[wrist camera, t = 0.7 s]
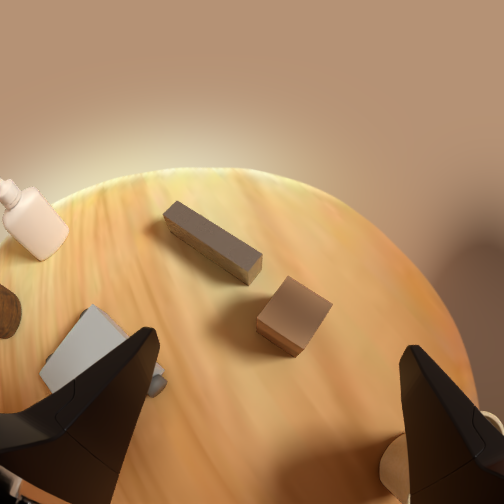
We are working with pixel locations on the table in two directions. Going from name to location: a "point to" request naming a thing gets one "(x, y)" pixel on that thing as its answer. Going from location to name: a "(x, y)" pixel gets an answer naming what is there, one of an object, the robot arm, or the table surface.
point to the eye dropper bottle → (32, 220)
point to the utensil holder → (9, 312)
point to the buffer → (214, 242)
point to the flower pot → (397, 467)
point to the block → (292, 316)
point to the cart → (89, 351)
